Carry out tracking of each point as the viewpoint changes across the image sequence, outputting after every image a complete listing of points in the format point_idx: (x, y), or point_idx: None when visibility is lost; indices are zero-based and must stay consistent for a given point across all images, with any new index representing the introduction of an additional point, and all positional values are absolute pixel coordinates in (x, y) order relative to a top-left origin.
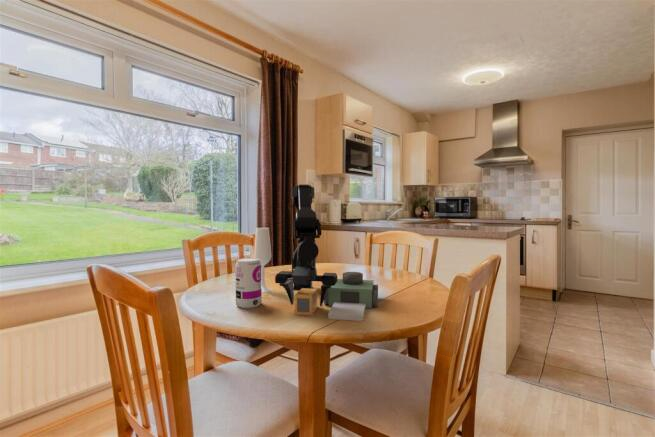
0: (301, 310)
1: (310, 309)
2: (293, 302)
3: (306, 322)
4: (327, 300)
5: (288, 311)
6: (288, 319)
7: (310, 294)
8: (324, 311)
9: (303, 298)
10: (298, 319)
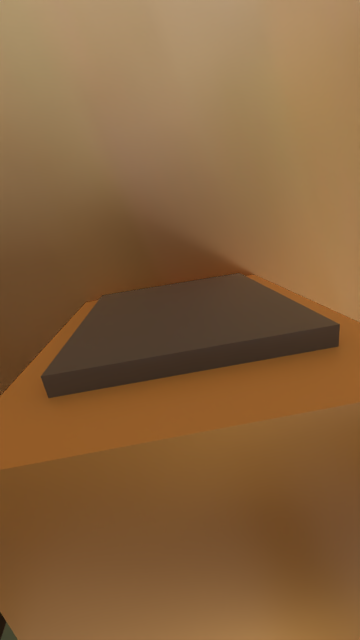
0: (192, 282)
1: (81, 316)
2: None
3: (8, 18)
4: None
5: None
6: (270, 68)
7: (31, 557)
8: None
9: (193, 373)
10: (157, 109)
